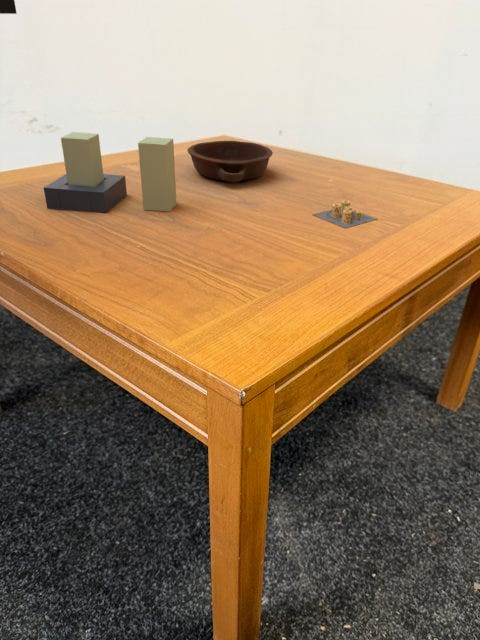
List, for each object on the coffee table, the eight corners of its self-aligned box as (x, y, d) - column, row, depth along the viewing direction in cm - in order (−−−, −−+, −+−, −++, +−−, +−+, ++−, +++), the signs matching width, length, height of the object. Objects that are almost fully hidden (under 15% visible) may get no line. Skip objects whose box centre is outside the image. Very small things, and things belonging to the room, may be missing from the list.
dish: (184, 188, 105) (183, 161, 102) (191, 159, 124) (190, 136, 121) (275, 190, 106) (276, 163, 104) (268, 161, 125) (269, 138, 122)
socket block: (47, 208, 93) (43, 187, 91) (72, 190, 102) (69, 171, 100) (106, 212, 92) (103, 192, 90) (127, 194, 101) (125, 175, 99)
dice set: (346, 224, 91) (347, 213, 90) (324, 215, 94) (325, 204, 93) (366, 218, 94) (368, 207, 93) (345, 210, 97) (346, 199, 96)
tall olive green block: (71, 204, 95) (60, 137, 89) (81, 196, 99) (72, 132, 93) (96, 206, 95) (87, 139, 89) (106, 198, 98) (98, 133, 93)
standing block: (143, 209, 94) (137, 142, 88) (151, 201, 98) (146, 136, 92) (169, 211, 93) (165, 144, 88) (176, 203, 97) (173, 138, 91)
